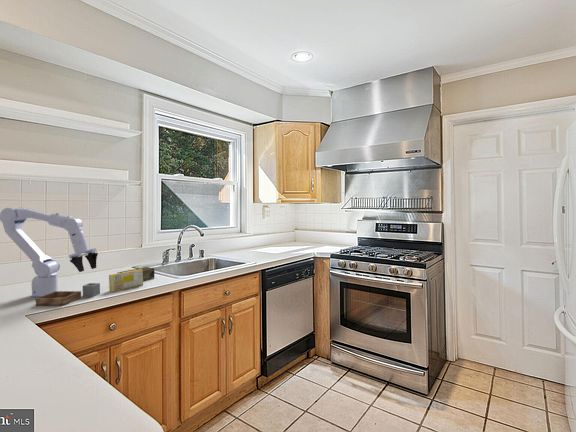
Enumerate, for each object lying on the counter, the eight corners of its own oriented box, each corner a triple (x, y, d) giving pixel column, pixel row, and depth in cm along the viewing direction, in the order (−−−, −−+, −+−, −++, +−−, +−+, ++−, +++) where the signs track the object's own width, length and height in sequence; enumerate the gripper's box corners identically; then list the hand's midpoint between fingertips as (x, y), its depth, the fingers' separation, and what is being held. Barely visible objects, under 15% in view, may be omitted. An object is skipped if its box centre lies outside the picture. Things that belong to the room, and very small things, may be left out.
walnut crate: (35, 305, 136) (35, 298, 136) (55, 297, 148) (55, 291, 148) (63, 305, 136) (63, 298, 136) (81, 297, 148) (80, 291, 147)
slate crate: (82, 296, 149) (82, 285, 149) (89, 293, 154) (89, 283, 154) (93, 296, 149) (93, 285, 149) (100, 293, 154) (99, 283, 154)
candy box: (141, 284, 172) (141, 269, 171) (143, 285, 170) (143, 269, 170) (109, 291, 159) (108, 274, 159) (110, 291, 158) (110, 274, 157)
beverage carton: (155, 278, 187) (155, 266, 186) (125, 286, 169) (125, 273, 169) (145, 276, 190) (145, 265, 190) (115, 284, 173) (115, 272, 173)
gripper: (97, 237, 156) (106, 264, 157) (74, 244, 160) (83, 270, 161) (85, 240, 149) (94, 268, 150) (61, 247, 153) (70, 274, 154)
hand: (88, 270), depth 155 cm, fingers open, 7 cm apart
